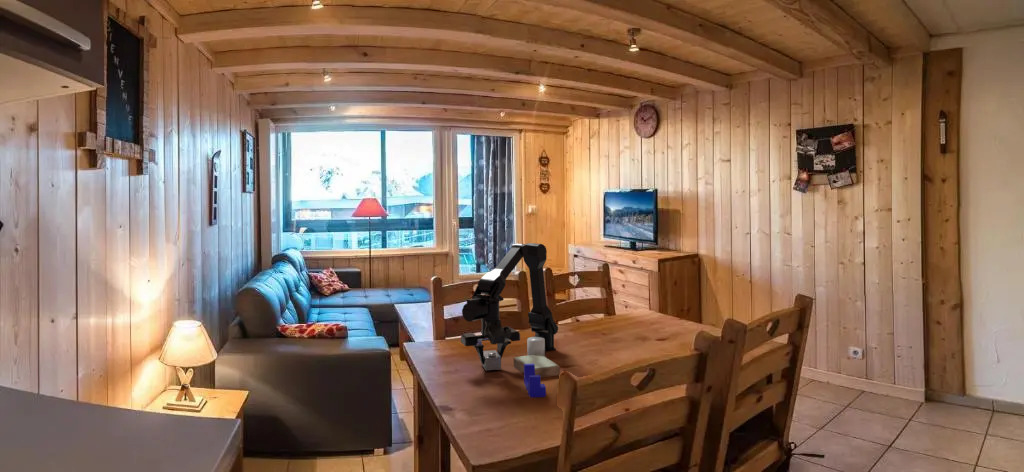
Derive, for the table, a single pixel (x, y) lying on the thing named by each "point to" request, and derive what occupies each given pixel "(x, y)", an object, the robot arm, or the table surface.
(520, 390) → the table surface
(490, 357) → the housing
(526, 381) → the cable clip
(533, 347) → the light grey rounded cylinder
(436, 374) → the table surface
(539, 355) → the stand
